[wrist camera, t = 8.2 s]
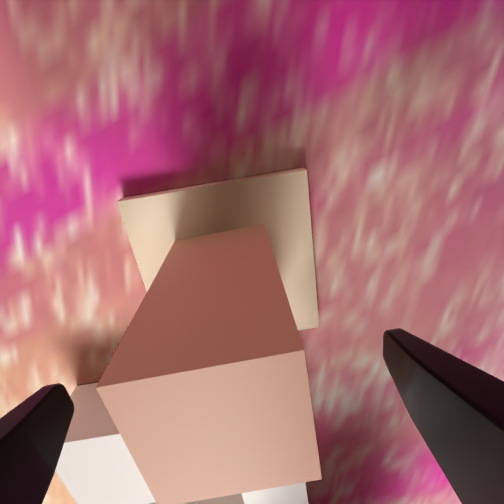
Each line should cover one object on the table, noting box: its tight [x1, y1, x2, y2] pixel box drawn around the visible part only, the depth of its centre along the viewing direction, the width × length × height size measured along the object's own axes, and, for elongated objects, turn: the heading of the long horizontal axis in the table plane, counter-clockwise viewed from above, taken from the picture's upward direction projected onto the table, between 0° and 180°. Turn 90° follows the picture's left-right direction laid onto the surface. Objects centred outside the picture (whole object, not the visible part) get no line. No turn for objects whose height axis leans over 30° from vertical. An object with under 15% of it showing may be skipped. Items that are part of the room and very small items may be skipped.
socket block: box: [55, 382, 308, 504], centre depth 18 cm, size 12×16×4 cm
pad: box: [116, 168, 319, 330], centre depth 14 cm, size 8×8×1 cm
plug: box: [96, 224, 322, 504], centre depth 10 cm, size 4×4×8 cm
